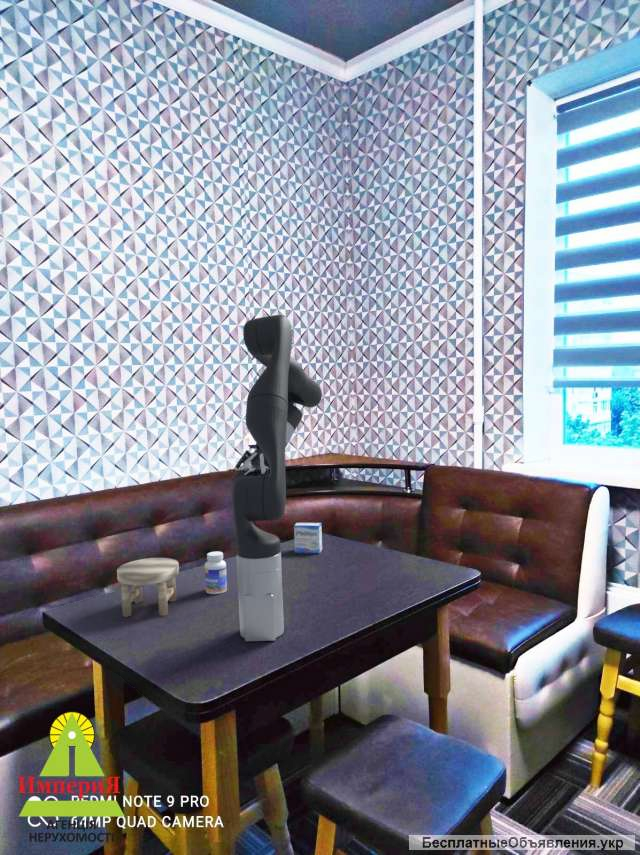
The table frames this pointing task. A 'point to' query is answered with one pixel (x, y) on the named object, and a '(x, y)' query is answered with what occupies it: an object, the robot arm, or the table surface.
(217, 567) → the pill bottle
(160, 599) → the small wooden stool
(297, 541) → the medicine box
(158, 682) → the table surface
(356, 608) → the table surface
